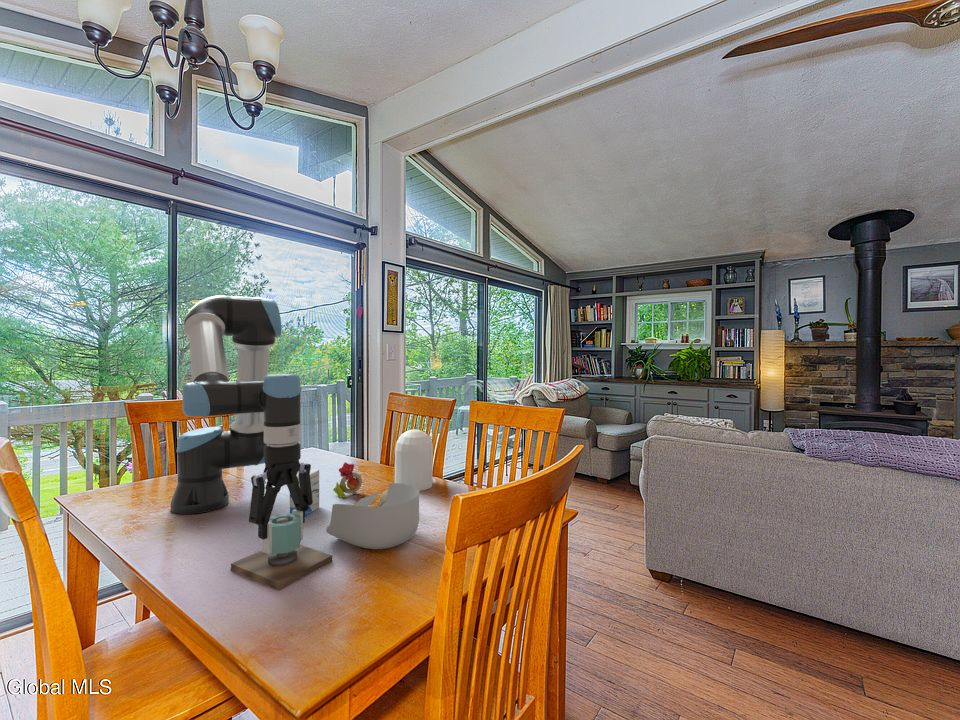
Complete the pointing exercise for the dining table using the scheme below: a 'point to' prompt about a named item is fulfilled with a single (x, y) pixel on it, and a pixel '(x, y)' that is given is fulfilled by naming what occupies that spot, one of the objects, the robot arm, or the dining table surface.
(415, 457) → the container
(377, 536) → the bowl
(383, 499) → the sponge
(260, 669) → the dining table surface
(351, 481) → the bird rattle
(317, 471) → the ink box
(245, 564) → the shaft board
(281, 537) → the collar
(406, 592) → the dining table surface
